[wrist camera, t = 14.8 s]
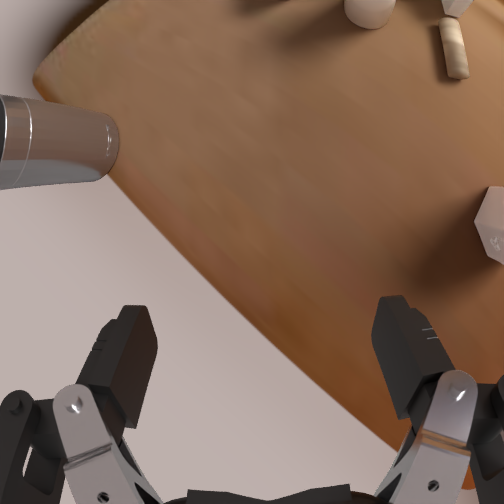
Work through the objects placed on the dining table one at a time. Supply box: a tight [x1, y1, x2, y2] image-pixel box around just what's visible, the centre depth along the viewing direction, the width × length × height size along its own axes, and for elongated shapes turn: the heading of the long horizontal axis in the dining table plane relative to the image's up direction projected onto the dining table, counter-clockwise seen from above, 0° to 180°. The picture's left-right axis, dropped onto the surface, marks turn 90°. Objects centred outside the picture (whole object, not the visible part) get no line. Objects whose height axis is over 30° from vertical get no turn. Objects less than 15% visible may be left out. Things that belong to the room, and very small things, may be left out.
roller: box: [438, 17, 470, 79], centre depth 22 cm, size 3×7×3 cm
